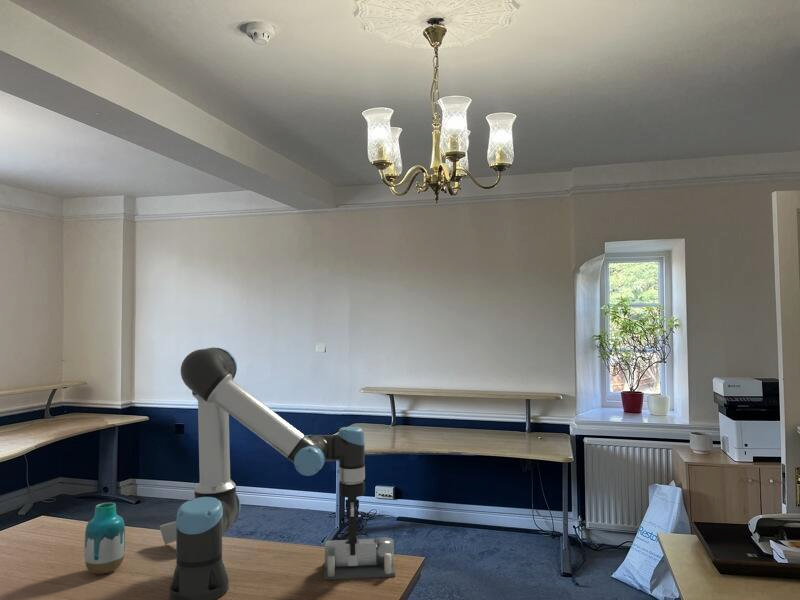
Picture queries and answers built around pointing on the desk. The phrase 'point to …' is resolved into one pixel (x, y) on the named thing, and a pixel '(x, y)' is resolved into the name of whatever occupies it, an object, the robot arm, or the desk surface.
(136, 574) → the desk surface
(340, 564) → the grey ball-ended handle
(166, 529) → the white stapler
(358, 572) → the pad
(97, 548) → the vase
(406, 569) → the desk surface
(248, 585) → the desk surface
